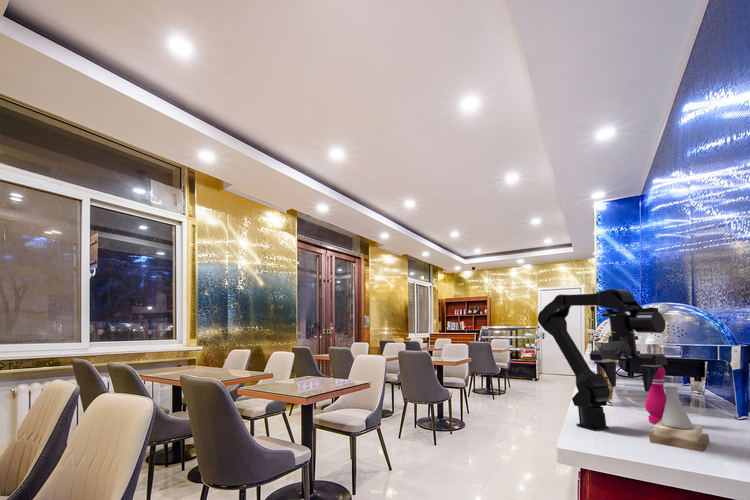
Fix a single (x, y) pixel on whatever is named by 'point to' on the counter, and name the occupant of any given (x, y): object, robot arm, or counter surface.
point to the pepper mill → (656, 398)
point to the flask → (674, 411)
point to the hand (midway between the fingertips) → (629, 389)
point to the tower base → (679, 437)
